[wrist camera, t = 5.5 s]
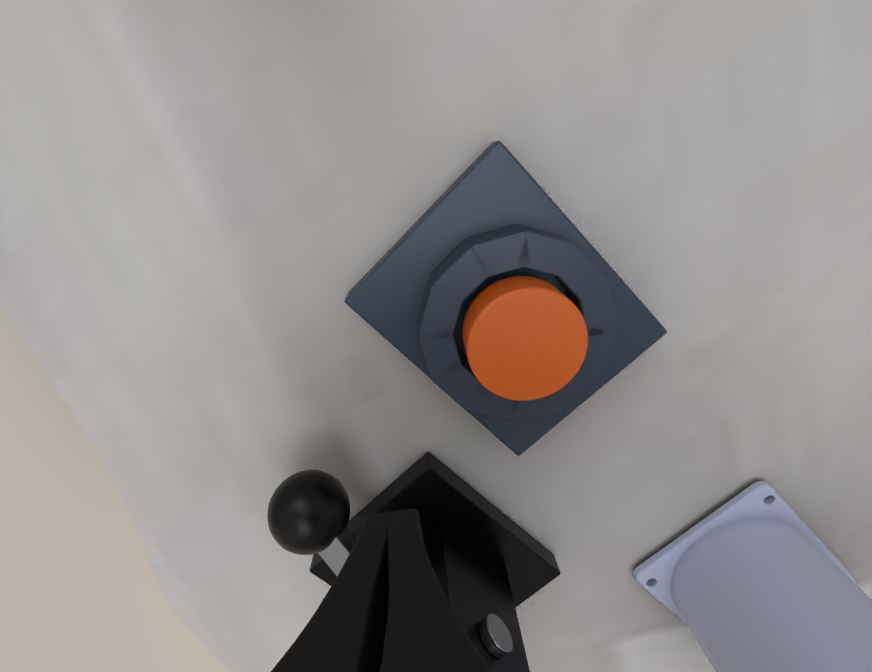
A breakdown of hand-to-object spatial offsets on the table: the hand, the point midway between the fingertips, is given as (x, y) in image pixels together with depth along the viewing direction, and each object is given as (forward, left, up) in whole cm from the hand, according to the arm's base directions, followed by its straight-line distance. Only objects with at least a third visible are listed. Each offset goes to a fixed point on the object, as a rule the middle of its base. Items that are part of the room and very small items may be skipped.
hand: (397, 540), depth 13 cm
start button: (0, -6, -6) cm, 8 cm away
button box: (0, -6, -8) cm, 10 cm away
